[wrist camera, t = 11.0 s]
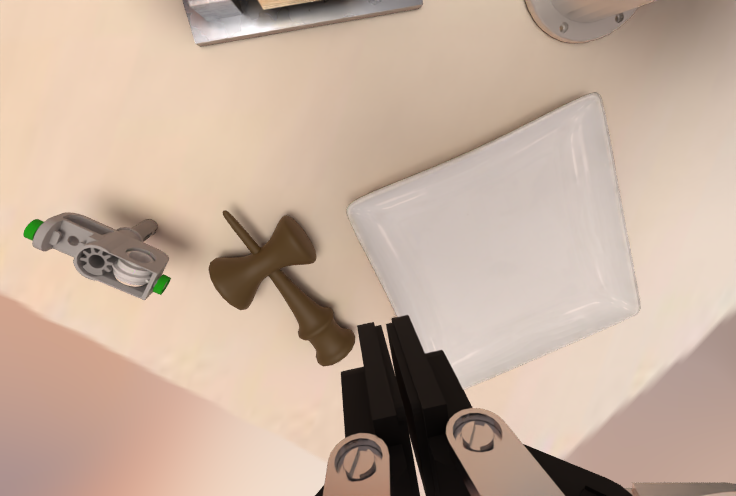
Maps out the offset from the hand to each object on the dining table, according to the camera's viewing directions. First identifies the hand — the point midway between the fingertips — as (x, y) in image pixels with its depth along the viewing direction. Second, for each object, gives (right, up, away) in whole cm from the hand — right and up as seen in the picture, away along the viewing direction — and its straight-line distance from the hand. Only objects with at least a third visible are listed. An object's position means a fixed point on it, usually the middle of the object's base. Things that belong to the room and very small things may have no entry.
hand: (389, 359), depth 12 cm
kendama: (-10, 0, +30) cm, 32 cm away
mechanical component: (-23, +6, +26) cm, 35 cm away
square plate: (+14, +3, +32) cm, 35 cm away
